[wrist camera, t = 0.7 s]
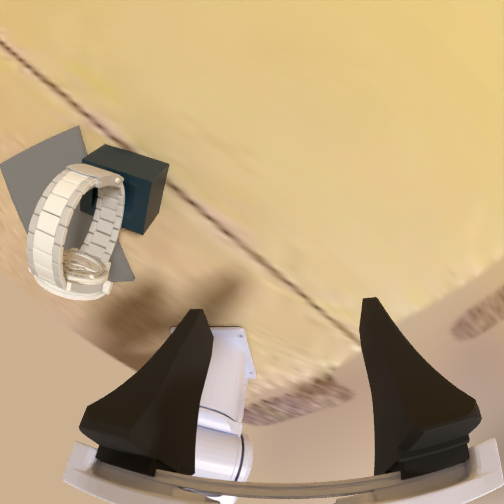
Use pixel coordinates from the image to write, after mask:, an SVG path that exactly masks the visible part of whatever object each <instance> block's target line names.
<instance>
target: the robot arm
mask: <svg viewBox="0 0 504 504" xmlns="http://www.w3.org/2000/svg"><path fill="white" fill-rule="evenodd" d="M170 332H171V335H170V336H169V338H168V339H167V340H166V341H165V343H164V344H163V345H162V346H161V347H160V349H159V350H158V351H157V352H156V353H155V354H154V355H153V357H152V358H151V359H150V360H149V361H148V362H147V363H146V364H145V365H144V366H143V367H142V368H141V369H140V370H139V371H138V372H137V373H135V374H134V375H133V376H132V377H131V378H129V379H128V380H127V381H126V382H125V383H124V384H122V385H121V386H119V387H118V388H117V389H115V390H114V391H112V392H111V393H109V394H108V395H106V396H105V397H103V398H101V399H100V400H98V401H96V402H94V403H93V404H91V405H89V406H87V408H86V411H85V413H84V416H83V418H82V420H81V423H80V426H79V429H80V431H81V432H82V433H83V434H85V435H86V436H87V437H88V438H90V439H91V440H93V441H94V442H96V443H97V444H99V448H98V450H97V449H95V448H93V447H91V446H88V445H86V444H83V443H80V442H78V441H76V442H75V444H74V447H73V450H72V452H71V455H70V458H69V461H68V464H67V466H66V469H65V472H64V475H63V478H62V480H63V481H64V482H66V483H68V484H70V485H72V486H74V487H76V488H78V489H80V490H82V491H84V492H86V493H89V494H91V495H93V496H95V497H97V498H100V499H102V500H104V501H107V502H109V503H112V504H234V503H235V502H236V501H237V498H238V497H248V498H264V499H266V498H267V499H309V498H326V497H337V496H347V495H354V496H350V497H344V498H338V499H337V500H336V503H334V504H464V503H467V502H469V501H472V500H474V499H476V498H478V497H480V496H483V495H485V494H487V493H489V492H491V491H493V490H495V489H497V488H499V487H501V486H503V484H504V481H503V474H502V469H501V463H500V458H499V453H498V449H497V443H496V439H495V438H491V439H489V440H487V441H484V442H482V443H479V444H477V445H474V446H472V447H470V448H469V449H468V446H467V443H468V442H469V435H468V434H469V433H470V432H471V431H472V430H473V429H475V428H476V427H477V426H478V424H479V423H480V422H481V419H482V418H481V414H480V410H479V407H478V405H477V403H476V400H475V399H474V398H472V397H471V396H469V395H467V394H466V393H464V392H463V391H461V390H460V389H458V388H456V386H454V385H453V384H452V383H450V382H449V381H448V380H447V379H445V378H444V377H443V376H442V375H441V374H440V373H438V372H437V371H436V370H435V369H434V368H433V367H432V366H431V365H430V364H429V363H427V362H426V360H425V359H423V357H422V356H421V355H420V354H419V353H418V352H417V351H416V350H415V349H414V348H413V346H412V345H411V344H410V343H409V341H408V340H407V339H406V338H405V337H404V335H403V334H402V333H401V331H400V330H399V329H398V327H397V326H396V325H395V323H394V322H393V321H392V319H391V318H390V316H389V315H388V313H387V312H386V310H385V309H384V307H383V306H382V304H381V303H380V301H379V300H378V298H377V297H373V298H363V302H362V311H361V319H360V327H359V332H360V340H361V348H362V353H363V357H364V361H365V366H366V370H367V374H368V379H369V383H370V388H371V393H372V401H373V413H374V430H375V467H374V476H371V477H365V478H357V479H349V480H340V481H329V482H314V483H253V482H246V480H247V478H248V476H249V473H250V470H251V466H252V461H253V447H252V443H251V441H250V440H249V437H248V436H247V435H246V434H244V433H241V432H242V425H243V424H241V421H242V418H243V412H244V405H245V397H246V389H247V382H248V379H255V378H256V371H255V368H254V364H253V360H252V357H251V353H250V349H249V346H248V342H247V338H246V334H245V330H244V329H243V328H241V327H209V324H208V322H207V319H206V316H205V314H204V311H203V309H190V310H189V312H188V313H187V314H186V316H185V317H184V318H183V319H182V321H181V322H180V323H179V325H178V326H177V327H172V328H171V329H170ZM239 334H240V335H239ZM369 492H371V493H369ZM363 493H364V494H363ZM355 494H359V495H355Z"/></svg>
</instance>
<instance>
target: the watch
mask: <svg viewBox="0 0 504 504" xmlns="http://www.w3.org/2000/svg"><path fill="white" fill-rule="evenodd" d="M168 168H169V164H167V163H164V162H161V161H158V160H155V159H152V158H149V157H146V156H142V155H139V154H136V153H133V152H129V151H126V150H123V149H119V148H116V147H113V146H109V145H106V144H105V145H103V146H102V147H100V148H98V149H97V150H95V151H94V152H92V153H91V154H89V155H87V156H86V157H84V158H83V159H82V164H73V165H69V166H67V167H66V170H64V171H62V172H61V173H60V174H58V175H57V176H56V177H55V178H54V179H53V180H52V182H51V183H50V184H49V185H48V187H47V188H46V190H45V191H44V193H43V194H42V196H43V197H41V198H40V200H39V202H38V204H37V206H36V208H35V211H34V213H35V214H33V215H32V218H31V222H30V225H29V231H30V232H28V236H27V246H26V247H27V248H28V249H27V260H28V262H29V271H30V272H31V273H32V274H34V277H35V279H36V281H37V283H38V284H39V285H40V286H41V287H43V288H44V289H46V290H47V291H49V292H51V293H53V294H55V295H58V296H61V297H64V298H68V299H73V300H95V299H98V298H100V297H102V296H104V295H105V293H106V294H108V295H109V294H110V292H111V291H112V288H113V282H110V281H108V275H109V270H110V266H111V262H108V261H109V259H110V256H111V255H112V252H113V249H114V247H115V243H116V241H117V238H118V235H119V230H120V228H121V227H123V228H125V229H128V230H131V231H133V232H136V233H139V234H142V235H143V234H144V233H145V232H146V230H147V229H148V227H149V226H150V224H151V223H152V222H153V220H154V219H155V217H156V216H157V215H158V213H159V209H160V204H161V199H162V195H163V190H164V185H165V181H166V177H167V172H168ZM79 201H80V211H81V212H83V213H86V214H89V215H91V216H94V217H93V220H95V221H92V224H91V226H90V229H89V232H90V233H88V234H87V236H86V238H85V240H84V244H83V245H82V246H81V248H80V250H79V251H78V249H77V248H72V249H69V250H67V249H64V248H63V245H64V243H65V239H66V234H67V228H66V227H68V226H69V223H70V220H71V217H72V215H73V212H74V211H73V209H75V208H76V206H77V204H78V203H79ZM45 211H47V212H49V213H47V212H45ZM50 213H52V214H54V215H56V216H54V215H52V214H50ZM36 214H37V215H36ZM38 215H39V216H38ZM57 216H59V217H61V218H59V217H57ZM62 225H63V226H62ZM64 226H65V227H64ZM115 228H116V229H115ZM117 229H118V230H117ZM97 230H98V231H97ZM99 231H100V232H99ZM45 232H46V233H45ZM101 232H103V233H101ZM91 233H93V234H91ZM104 233H105V234H104ZM106 234H108V235H106ZM109 235H110V236H109ZM111 241H113V242H111ZM114 242H115V243H114ZM93 243H94V244H93ZM95 244H96V245H95ZM98 245H99V246H98ZM100 246H101V247H100ZM103 247H104V248H103ZM105 248H106V249H105Z"/></svg>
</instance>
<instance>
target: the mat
mask: <svg viewBox="0 0 504 504" xmlns="http://www.w3.org/2000/svg"><path fill="white" fill-rule="evenodd" d="M86 156H87V152H86V149H85V145H84V142H83V139H82V135H81V132H80V128H79V126H77V127H74V128H72V129H69V130H67V131H65V132H62V133H60V134H58V135H56V136H54V137H51V138H49V139H47V140H45V141H43V142H41V143H39V144H37V145H35V146H33V147H31V148H29V149H27V150H25V151H23V152H21V153H19V154H17V155H16V156H14V157H12V158H10V159H8V160H7V161H5V162H3V163H1V164H0V168H1V171H2V174H3V177H4V179H5V182H6V185H7V188H8V190H9V193H10V195H11V198H12V200H13V203H14V205H15V208H16V210H17V212H18V215H19V217H20V219H21V222H22V224H23V226H24V228H25V230H26V232H27V235H28V232H30V231H29V225H30V222H31V218H32V215H33V214H35V213H34V211H35V208H36V206H37V204H38V202H39V200H40V198H41V197H43V196H42V194H43V193H44V191H45V190H46V188H47V187H48V185H49V184H50V183H51V182H52V180H53V179H54V178H55V177H56V176H57V175H58V174H60V173H61V172H62V171H64V170H66V167H67V166H69V165H73V164H82V159H83V158H84V157H86ZM73 211H74V212H73V215H72V217H71V220H70V223H69V226H68V227H66V228H67V234H66V239H65V243H64V245H63V248H64V249H67V250H69V249H72V248H77V249H78V251H79V250H80V248H81V246H82V245H83V244H84V240H85V238H86V236H87V234H88V233H90V232H89V229H90V226H91V224H92V221H95V220H93V217H94V216H91V215H89V214H86V213H83V212H81V211H80V201H79V203H78V204H77V206H76V208H75V209H73ZM45 212H47V211H45ZM47 213H49V212H47ZM50 214H52V213H50ZM36 215H37V214H36ZM52 215H54V214H52ZM38 216H39V215H38ZM54 216H56V215H54ZM57 217H59V216H57ZM59 218H61V217H59ZM62 226H63V225H62ZM64 227H65V226H64ZM97 231H98V230H97ZM99 232H100V231H99ZM45 233H46V232H45ZM101 233H103V232H101ZM91 234H93V233H91ZM104 234H105V233H104ZM106 235H108V234H106ZM109 236H110V235H109ZM111 242H113V241H111ZM114 243H115V242H114ZM93 244H94V243H93ZM95 245H96V244H95ZM98 246H99V245H98ZM100 247H101V246H100ZM103 248H104V247H103ZM105 249H106V248H105ZM108 262H111V266H110V270H109V275H108V281H110V282H122V281H134V279H135V277H134V275H133V273H132V271H131V268H130V266H129V264H128V262H127V259H126V257H125V255H124V253H123V250H122V248H121V246H120V243H119V241H118V238H117V241H116V243H115V247H114V249H113V252H112V255H111V256H110V259H109V261H108Z"/></svg>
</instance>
